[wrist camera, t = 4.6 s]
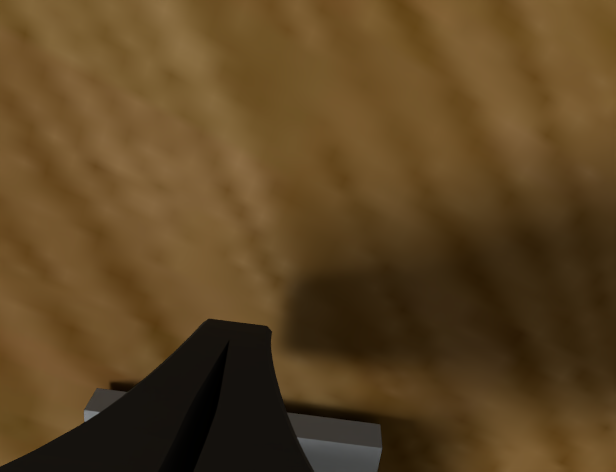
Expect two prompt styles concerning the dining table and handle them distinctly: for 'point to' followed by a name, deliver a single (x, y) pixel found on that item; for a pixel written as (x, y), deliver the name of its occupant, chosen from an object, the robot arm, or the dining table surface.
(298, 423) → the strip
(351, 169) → the dining table surface
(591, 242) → the dining table surface
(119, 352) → the dining table surface
